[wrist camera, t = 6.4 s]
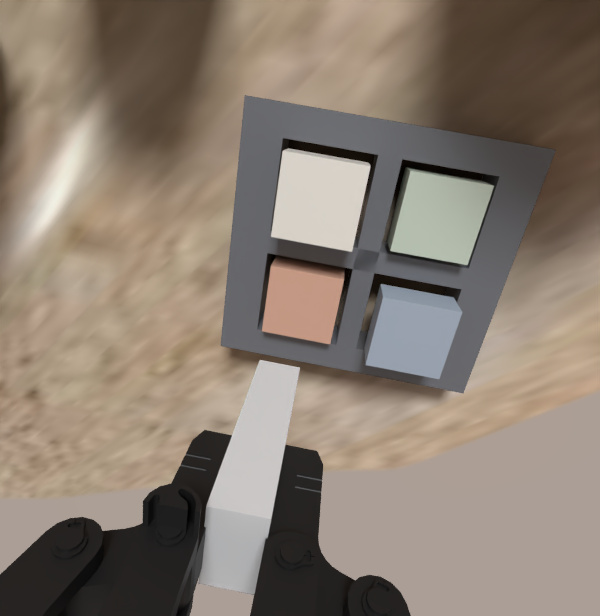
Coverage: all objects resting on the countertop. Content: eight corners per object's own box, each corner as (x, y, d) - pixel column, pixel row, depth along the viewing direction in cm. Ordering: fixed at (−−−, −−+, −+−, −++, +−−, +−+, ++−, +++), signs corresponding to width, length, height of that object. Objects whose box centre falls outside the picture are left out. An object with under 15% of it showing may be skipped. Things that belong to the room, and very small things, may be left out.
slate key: (363, 338, 26) (365, 365, 23) (379, 276, 24) (383, 297, 22) (429, 350, 26) (439, 379, 23) (449, 289, 24) (462, 312, 21)
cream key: (280, 223, 24) (270, 236, 21) (291, 147, 22) (282, 150, 19) (351, 236, 24) (351, 251, 21) (368, 160, 22) (370, 166, 19)
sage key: (385, 236, 25) (390, 250, 22) (402, 164, 23) (410, 170, 20) (453, 248, 25) (467, 265, 22) (476, 178, 23) (494, 185, 20)
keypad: (231, 327, 29) (220, 345, 26) (255, 98, 23) (244, 95, 21) (453, 370, 28) (463, 393, 26) (534, 147, 23) (555, 149, 20)
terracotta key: (271, 309, 28) (261, 331, 25) (279, 250, 26) (271, 265, 23) (332, 321, 27) (330, 344, 25) (344, 262, 26) (344, 279, 23)
